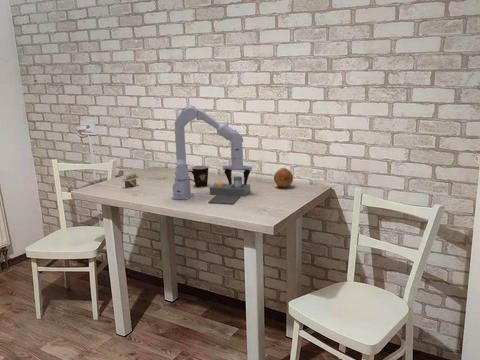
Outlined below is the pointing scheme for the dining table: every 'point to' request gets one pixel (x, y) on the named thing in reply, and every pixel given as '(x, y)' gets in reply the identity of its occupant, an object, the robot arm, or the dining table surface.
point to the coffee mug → (200, 175)
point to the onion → (283, 177)
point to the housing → (230, 190)
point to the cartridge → (237, 182)
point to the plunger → (220, 184)
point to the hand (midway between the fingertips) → (237, 184)
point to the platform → (130, 180)
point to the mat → (224, 199)
